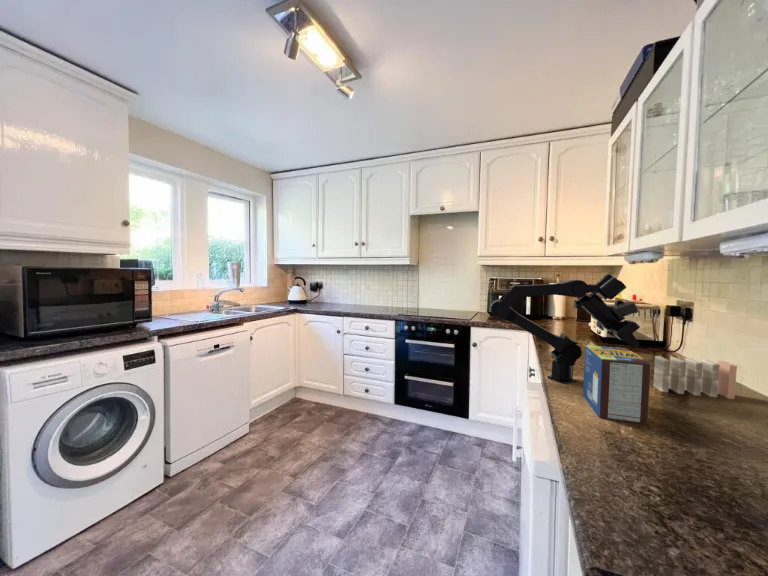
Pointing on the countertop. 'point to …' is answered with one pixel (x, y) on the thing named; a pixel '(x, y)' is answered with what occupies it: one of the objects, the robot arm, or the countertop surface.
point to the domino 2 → (677, 375)
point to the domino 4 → (710, 378)
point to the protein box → (617, 383)
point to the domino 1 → (661, 374)
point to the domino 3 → (693, 376)
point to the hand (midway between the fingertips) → (636, 345)
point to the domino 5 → (727, 379)
